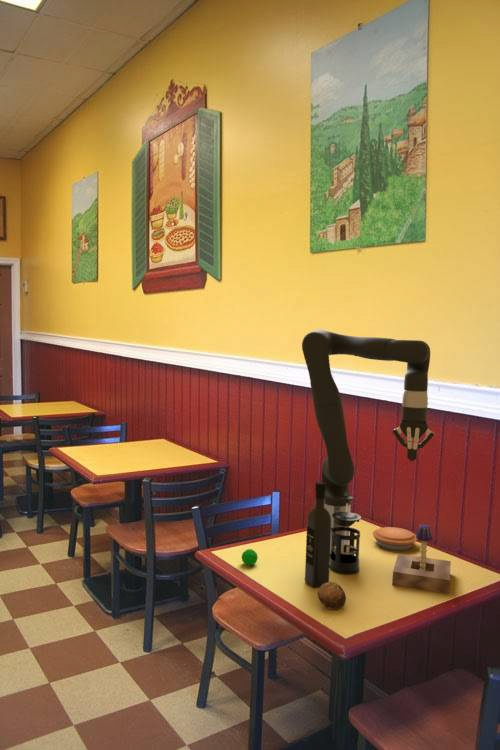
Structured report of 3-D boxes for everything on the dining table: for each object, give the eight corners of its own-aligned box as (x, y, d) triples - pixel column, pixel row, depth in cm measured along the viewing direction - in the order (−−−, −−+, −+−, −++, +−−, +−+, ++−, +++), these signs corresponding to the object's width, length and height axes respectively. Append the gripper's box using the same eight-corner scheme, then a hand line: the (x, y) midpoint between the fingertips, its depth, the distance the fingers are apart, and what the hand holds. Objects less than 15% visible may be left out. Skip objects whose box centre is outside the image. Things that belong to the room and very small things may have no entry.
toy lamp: (430, 583, 183) (433, 528, 182) (414, 581, 184) (417, 527, 183) (428, 576, 188) (431, 523, 187) (413, 575, 189) (416, 522, 188)
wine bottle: (313, 588, 176) (318, 486, 174) (303, 581, 181) (307, 481, 179) (330, 585, 179) (334, 484, 177) (319, 578, 184) (323, 480, 182)
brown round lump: (313, 585, 170) (323, 573, 167) (338, 596, 171) (349, 583, 168) (311, 610, 164) (322, 597, 160) (338, 621, 165) (349, 608, 161)
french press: (366, 568, 193) (369, 496, 191) (352, 577, 185) (355, 502, 184) (333, 559, 200) (336, 490, 198) (318, 567, 193) (321, 495, 191)
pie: (364, 546, 214) (365, 532, 214) (382, 535, 227) (382, 521, 226) (407, 556, 205) (408, 542, 205) (423, 544, 218) (423, 530, 218)
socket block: (392, 584, 181) (392, 571, 181) (397, 565, 196) (398, 553, 196) (449, 593, 176) (449, 580, 176) (450, 573, 191) (450, 561, 191)
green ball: (239, 562, 195) (240, 547, 195) (254, 561, 196) (254, 546, 196) (244, 568, 190) (244, 553, 190) (259, 566, 192) (259, 552, 191)
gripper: (391, 404, 187) (388, 460, 188) (436, 407, 183) (433, 465, 184) (394, 402, 194) (391, 456, 196) (437, 405, 190) (434, 460, 191)
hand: (411, 460), depth 190 cm, fingers closed
